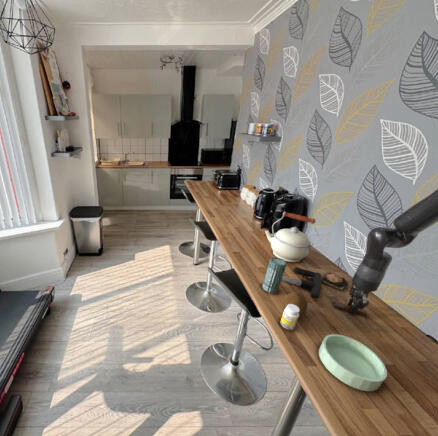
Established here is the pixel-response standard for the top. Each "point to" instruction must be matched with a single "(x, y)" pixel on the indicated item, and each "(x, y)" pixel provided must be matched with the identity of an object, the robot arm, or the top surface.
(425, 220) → the robot arm
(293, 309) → the supplement bottle
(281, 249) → the kettle
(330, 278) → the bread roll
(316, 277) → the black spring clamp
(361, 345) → the bowl
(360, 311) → the brown bar
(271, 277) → the can
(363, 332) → the top surface
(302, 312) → the potato
